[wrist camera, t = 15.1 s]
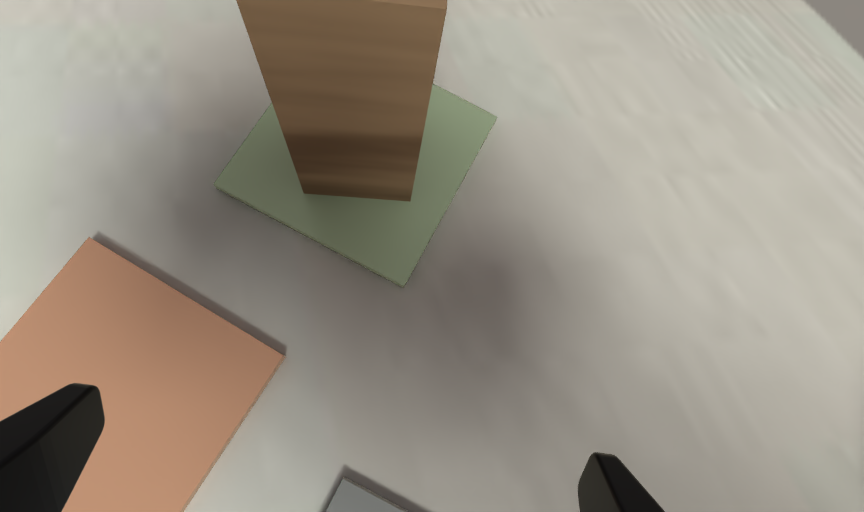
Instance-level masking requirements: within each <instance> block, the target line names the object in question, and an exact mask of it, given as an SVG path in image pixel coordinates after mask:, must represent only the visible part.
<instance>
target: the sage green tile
mask: <svg viewBox="0 0 864 512" xmlns="http://www.w3.org/2000/svg"><path fill="white" fill-rule="evenodd" d="M496 119H497V117H496V116H494V115H492V114H490V113H488V112H486V111H485V110H483V109H481V108H479V107H477V106H475V105H473V104H471V103H469V102H467V101H465V100H463V99H461V98H459V97H457V96H455V95H453V94H452V93H450V92H448V91H446V90H444V89H442V88H440V87H438V86H436V85H434V84H432V90H431V95H430V100H429V106H428V111H427V116H426V122H425V127H424V132H423V137H422V143H421V148H420V153H419V159H418V164H417V169H416V175H415V180H414V185H413V190H412V196H411V201H410V202H409V201H396V200H383V199H370V198H356V197H343V196H330V195H317V194H304V193H303V190H302V187H301V184H300V181H299V178H298V176H297V173H296V170H295V167H294V164H293V161H292V158H291V155H290V153H289V150H288V147H287V144H286V141H285V138H284V135H283V133H282V130H281V127H280V124H279V121H278V118H277V115H276V112H275V110H274V107H273V104H272V103H271V104H270V106H269V107H268V109H267V110H266V111H265V113H264V114H263V116H262V117H261V118H260V120H259V121H258V123H257V124H256V125H255V127H254V128H253V130H252V131H251V132H250V134H249V135H248V137H247V138H246V139H245V141H244V142H243V144H242V145H241V146H240V148H239V149H238V151H237V152H236V153H235V155H234V156H233V158H232V159H231V160H230V162H229V163H228V165H227V166H226V167H225V169H224V170H223V172H222V173H221V174H220V176H219V177H218V178H217V180H216V181H215V183H214V186H215V187H216V188H217V189H219V190H221V191H223V192H224V193H226V194H228V195H230V196H232V197H234V198H236V199H238V200H239V201H241V202H243V203H245V204H247V205H249V206H251V207H253V208H254V209H256V210H258V211H260V212H262V213H264V214H266V215H268V216H269V217H271V218H273V219H275V220H277V221H279V222H281V223H283V224H284V225H286V226H288V227H290V228H292V229H294V230H296V231H298V232H299V233H301V234H303V235H305V236H307V237H309V238H311V239H313V240H314V241H316V242H318V243H320V244H322V245H324V246H326V247H328V248H329V249H331V250H333V251H335V252H337V253H339V254H341V255H343V256H344V257H346V258H348V259H350V260H352V261H354V262H356V263H358V264H359V265H361V266H363V267H365V268H367V269H369V270H371V271H373V272H374V273H376V274H378V275H380V276H382V277H384V278H386V279H388V280H389V281H391V282H393V283H395V284H397V285H399V286H401V287H403V288H404V286H405V285H406V283H407V281H408V279H409V277H410V275H411V274H412V272H413V270H414V268H415V266H416V265H417V263H418V261H419V259H420V257H421V256H422V254H423V252H424V250H425V248H426V246H427V245H428V243H429V241H430V239H431V237H432V236H433V234H434V232H435V230H436V228H437V227H438V225H439V223H440V221H441V219H442V217H443V216H444V214H445V212H446V210H447V208H448V207H449V205H450V203H451V201H452V199H453V198H454V196H455V194H456V192H457V190H458V188H459V187H460V185H461V183H462V181H463V179H464V178H465V176H466V174H467V172H468V170H469V169H470V167H471V165H472V163H473V161H474V159H475V158H476V156H477V154H478V152H479V150H480V149H481V147H482V145H483V143H484V141H485V139H486V138H487V136H488V134H489V132H490V130H491V129H492V127H493V125H494V123H495V121H496Z"/></svg>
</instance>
